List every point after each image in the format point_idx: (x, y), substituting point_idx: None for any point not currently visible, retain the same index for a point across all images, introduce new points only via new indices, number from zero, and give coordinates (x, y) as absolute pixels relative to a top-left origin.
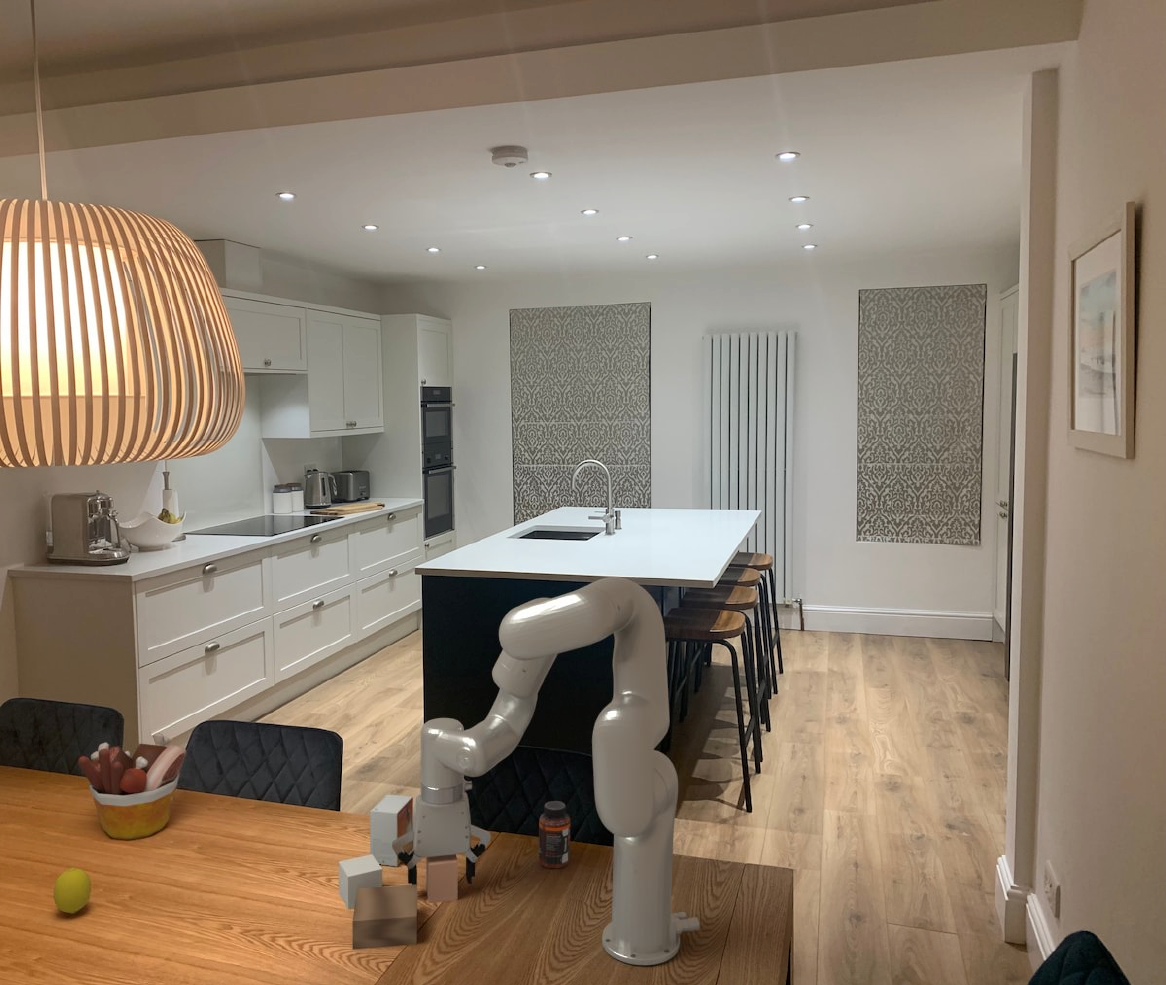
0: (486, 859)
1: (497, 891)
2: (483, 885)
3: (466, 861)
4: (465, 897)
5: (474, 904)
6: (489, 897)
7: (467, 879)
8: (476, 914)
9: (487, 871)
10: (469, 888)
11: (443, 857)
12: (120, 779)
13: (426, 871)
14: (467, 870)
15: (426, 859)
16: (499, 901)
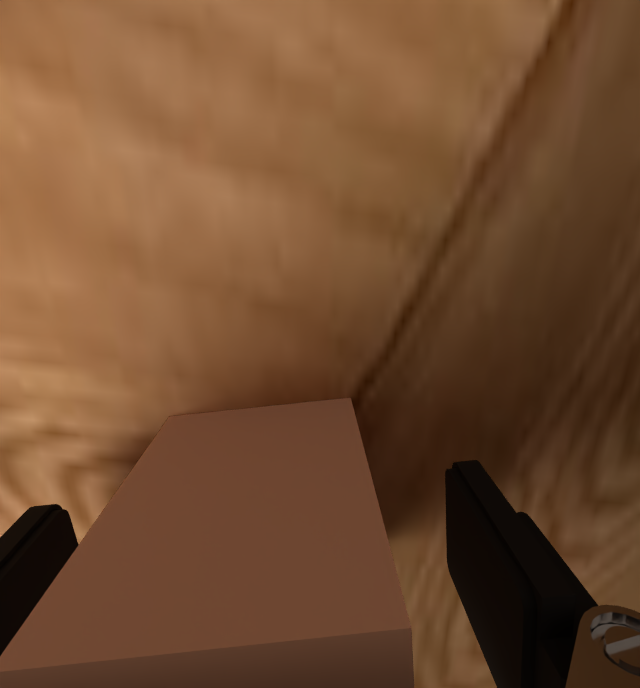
0: (635, 21)
1: (602, 485)
2: (534, 414)
3: (505, 611)
4: (410, 528)
5: (452, 592)
6: None
7: (455, 570)
8: (451, 668)
9: (598, 233)
10: (443, 439)
11: None
12: None
13: (120, 491)
14: (483, 633)
15: (59, 572)
16: (588, 577)
